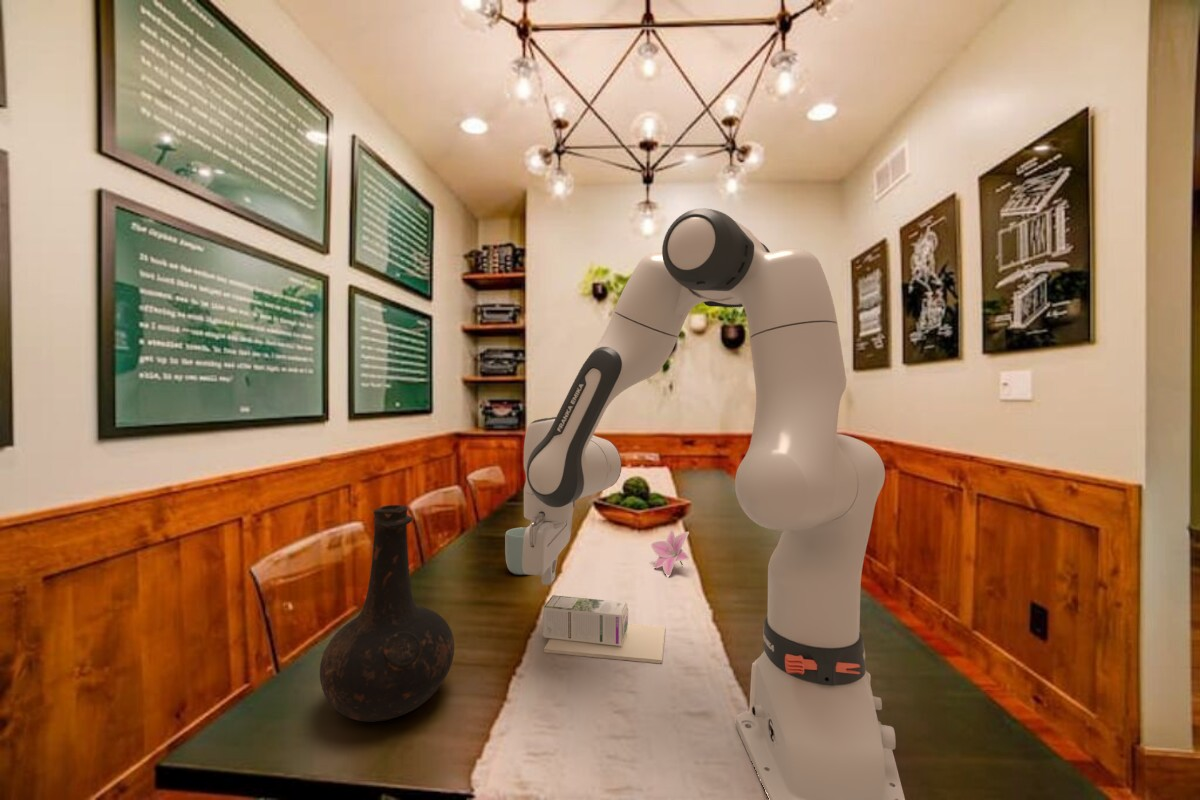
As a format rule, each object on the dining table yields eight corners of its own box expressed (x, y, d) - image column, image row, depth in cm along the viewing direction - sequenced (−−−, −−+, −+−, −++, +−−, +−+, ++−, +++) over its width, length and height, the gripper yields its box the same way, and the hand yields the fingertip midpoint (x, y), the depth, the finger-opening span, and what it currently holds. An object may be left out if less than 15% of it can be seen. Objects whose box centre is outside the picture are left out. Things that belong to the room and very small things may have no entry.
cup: (544, 570, 127) (544, 530, 127) (523, 580, 121) (523, 538, 120) (520, 564, 131) (520, 525, 131) (498, 573, 125) (498, 532, 125)
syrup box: (542, 638, 91) (622, 649, 88) (542, 605, 91) (623, 615, 88) (551, 624, 97) (628, 633, 94) (552, 593, 97) (628, 601, 94)
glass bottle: (325, 762, 62) (323, 531, 61) (315, 688, 77) (314, 502, 76) (470, 713, 71) (470, 512, 71) (436, 656, 86) (436, 490, 86)
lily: (651, 564, 135) (639, 536, 132) (692, 546, 136) (681, 518, 132) (663, 595, 124) (651, 565, 121) (708, 576, 124) (697, 546, 121)
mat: (662, 663, 84) (662, 660, 84) (544, 652, 88) (544, 648, 88) (665, 629, 96) (665, 626, 96) (561, 621, 100) (561, 617, 100)
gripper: (550, 521, 82) (550, 607, 83) (577, 495, 103) (577, 564, 103) (512, 519, 83) (512, 604, 84) (546, 494, 104) (546, 562, 104)
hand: (548, 582), depth 93 cm, fingers closed
